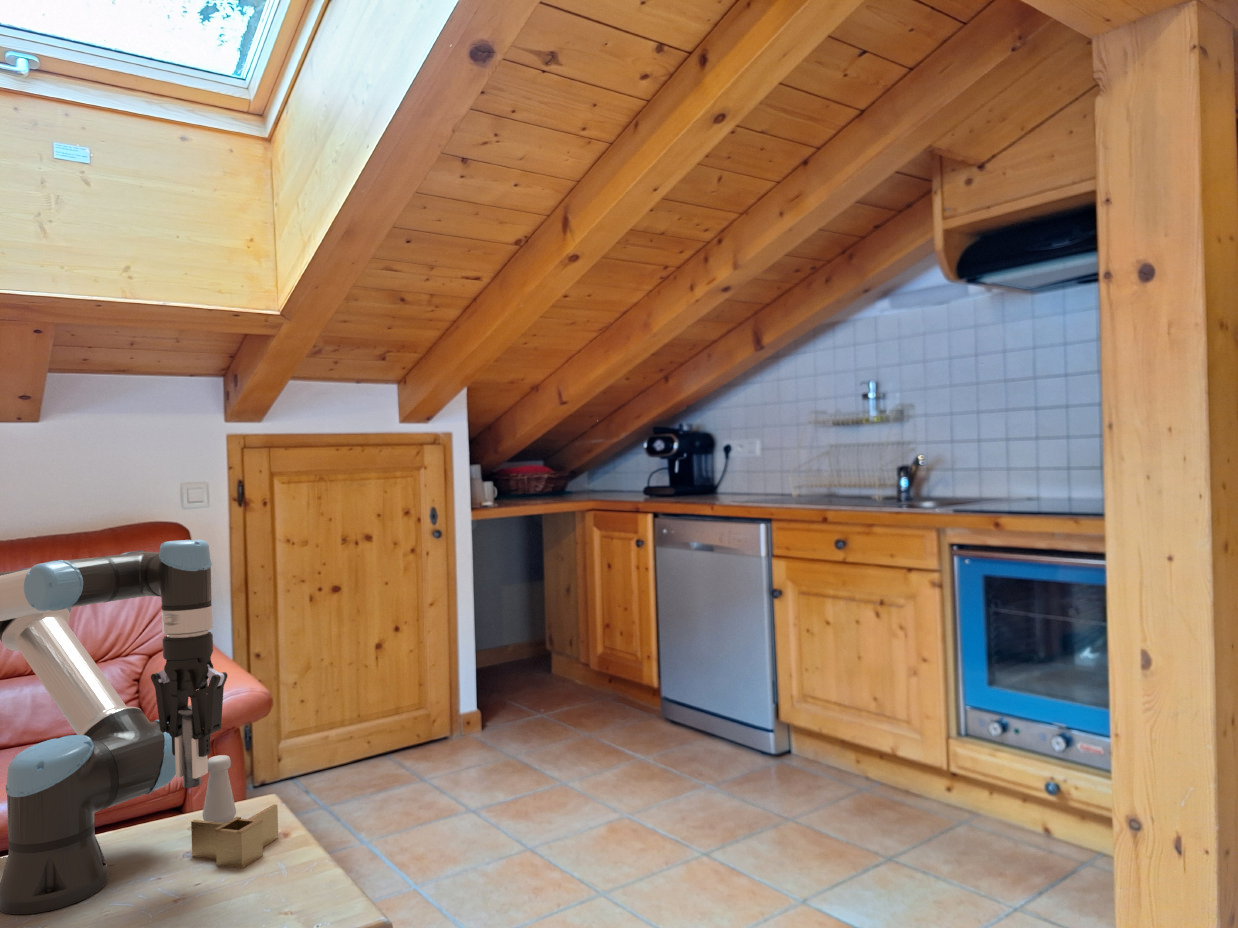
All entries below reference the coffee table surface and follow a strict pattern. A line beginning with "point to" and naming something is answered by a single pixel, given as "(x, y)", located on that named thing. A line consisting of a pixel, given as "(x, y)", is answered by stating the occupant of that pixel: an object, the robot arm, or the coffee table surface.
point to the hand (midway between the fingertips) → (191, 774)
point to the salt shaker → (219, 791)
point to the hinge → (235, 838)
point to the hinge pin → (188, 746)
